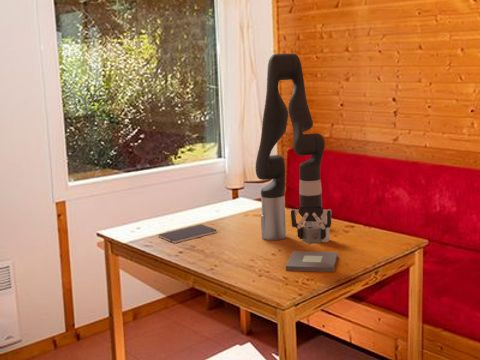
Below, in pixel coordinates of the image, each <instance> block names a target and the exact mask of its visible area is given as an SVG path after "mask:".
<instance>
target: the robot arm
mask: <svg viewBox="0 0 480 360" xmlns="http://www.w3.org/2000/svg"><path fill="white" fill-rule="evenodd" d="M266 76H267V77H266V92H265V93H266V95H265V102H264V103H265V104H264V109H263V110H264V111H263V117H262V123H261V124H262V126H261V135H260V142H259V146H258V151H257V157H256V161H255V173H256V177H257V179H259V180H260V181H261V180H262V181H265V180H271V182H270V183H269V184H267V185H265V186H264V187H262V188H261V190H260V197H261V215H260V225H261V239H262V240H267V241H279V240H283V239H286V237H287V231H286V228H287V227H286V205H285V204H286V201H285V189H286V165H285V159H284V157H283V156H282V155H280V154H273V155H271V153H272V152H273V151H272V150H273V149H274V147H275V146H276V145H277V144H278V142H279V141H280V139H281V138H282V137H283V136H284V134H285V133H286V130H287V126H288V120H289V119H290V122H291V125H292V136H293V138H292V148H293V151H294V152H295V154H296V155H298V156H310V158H309V159H308V160H306V161H305V160H304V161H303V162H301V163H300V164H299V166H298V168H299V173H298V174H299V184H298V185H299V186H298V187H299V189H298V190H299V191H298V192H299V193H298V194H299V195H298V196H299V209H298V208H297V209H296V208H292V209H291V210H290V218H291V227H292V228H296V229H297V231H296V232H297V237H298V238H299V240H302V227H303V226H304V223H305V221H306V222H309V221H313V222H316V221H317V222H318V224H319V225H320V226H321V228H322V229H321V238H322V240H324V238H325V237H326V228H329V229H330V228H331V226H332V209H331V208H328V209H324V208H323V198H322V197H323V195H322V192H323V189H322V182H321V181H322V180H321V165H322V161H323V156H324V151H325V149H326V148H325V146H326V141H325V139H324V136H323V135H322V134H321V133H317V132H316V133H304V132H307V131H309V130H311V129H312V127H313V126H314V121H313V117H312V115H311V111H310V108H309V104H308V100H307V95H306V94H307V93H306V88H305V80H304V79H305V78H304V73H303V68H302V63H301V60H300V57H299V55H298V54H296V53H292V52H291V53H273V54H271V55H270V56H269V58H268V63H267V75H266ZM280 81H292V84H293V91H292V94H291V97H290V99H289V103H288V107H287V105H286V104H285V102H284V99H283V98H282V96H281V94H280V91H279V84H280ZM323 213H325V216H327V224H325V223H324V221H323V219H322V218H321V215H322V214H323ZM298 214H299V215H300V216H301V217H302V218H301V219H300V221H299V223H298V222H297V215H298ZM318 220H319V221H318Z"/></svg>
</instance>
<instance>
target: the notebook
mask: <svg viewBox="0 0 480 360" xmlns="http://www.w3.org/2000/svg"><path fill="white" fill-rule="evenodd" d="M216 233H217V229H216V228H213V227H211V226H207V225H204V224H197V225H196V224H195V225H193V226H189V227H184V228H181V229H175V230H172V231H167V232H162V233H160V234H158V237H159V238H161V239H164V240H166V241H168V242H170V243H173V244H177V243H180V242H185V241H189V240H192V239H196V238H201V237H204V236H208V235H212V234H216Z"/></svg>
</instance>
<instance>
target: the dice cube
mask: <svg viewBox="0 0 480 360" xmlns="http://www.w3.org/2000/svg"><path fill="white" fill-rule="evenodd" d="M301 227H302V239H301V241H302V242H303V243H305V244H308V245H313V244H318V243H323V242H322V238H321V229H322V228H320V227H318V226H316V225H310V226H304V225H303V226H301Z"/></svg>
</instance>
